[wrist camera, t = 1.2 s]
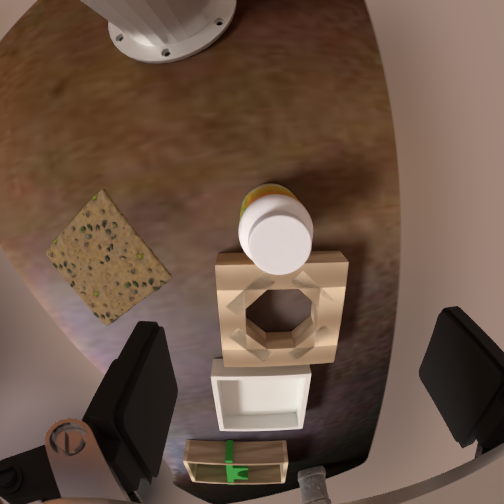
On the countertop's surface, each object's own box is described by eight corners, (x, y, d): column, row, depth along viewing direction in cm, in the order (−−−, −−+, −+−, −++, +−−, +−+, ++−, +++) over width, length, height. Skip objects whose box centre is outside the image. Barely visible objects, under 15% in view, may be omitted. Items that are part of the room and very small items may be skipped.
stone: (295, 470, 45) (298, 511, 35) (323, 463, 44) (330, 505, 34) (299, 475, 46) (303, 515, 36) (326, 469, 45) (333, 509, 36)
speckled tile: (176, 275, 30) (174, 279, 29) (108, 325, 32) (105, 329, 31) (105, 185, 26) (101, 186, 26) (46, 251, 29) (42, 254, 28)
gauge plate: (218, 253, 29) (215, 265, 26) (339, 250, 29) (348, 262, 26) (225, 349, 33) (224, 367, 30) (328, 345, 33) (333, 362, 30)
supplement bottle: (236, 188, 26) (228, 211, 17) (294, 178, 26) (318, 196, 17) (246, 243, 28) (244, 291, 19) (302, 234, 28) (326, 277, 19)
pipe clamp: (247, 466, 43) (247, 485, 39) (228, 466, 43) (228, 484, 39) (248, 440, 40) (248, 461, 36) (226, 439, 39) (225, 461, 35)
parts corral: (186, 439, 40) (182, 460, 36) (285, 440, 40) (288, 462, 36) (195, 462, 43) (192, 481, 39) (282, 463, 43) (284, 482, 39)
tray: (213, 358, 33) (210, 376, 30) (307, 356, 33) (311, 373, 30) (221, 414, 37) (219, 430, 34) (299, 412, 37) (302, 428, 34)
